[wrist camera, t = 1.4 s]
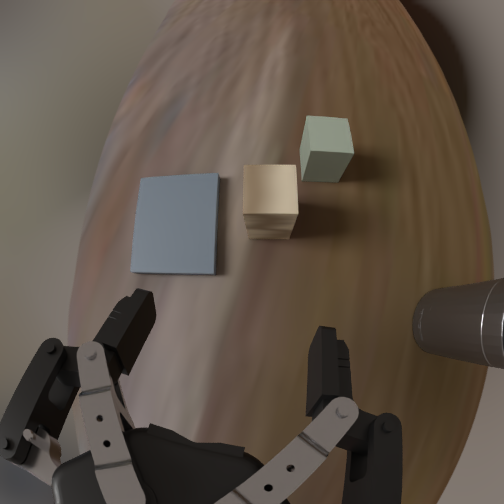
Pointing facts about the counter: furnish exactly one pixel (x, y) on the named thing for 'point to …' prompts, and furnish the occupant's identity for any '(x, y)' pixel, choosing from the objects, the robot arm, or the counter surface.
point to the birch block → (270, 201)
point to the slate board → (176, 225)
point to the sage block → (325, 149)
